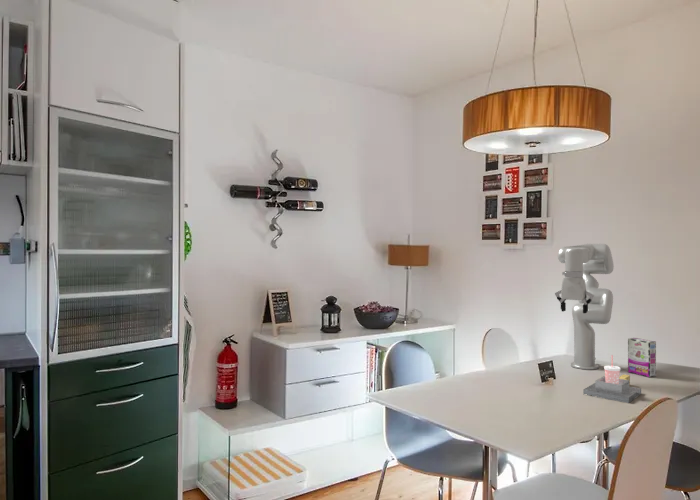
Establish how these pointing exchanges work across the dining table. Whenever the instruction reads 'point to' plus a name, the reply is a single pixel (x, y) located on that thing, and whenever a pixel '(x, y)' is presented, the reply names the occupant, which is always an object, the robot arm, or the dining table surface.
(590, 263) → the robot arm
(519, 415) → the dining table surface
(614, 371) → the beverage cup
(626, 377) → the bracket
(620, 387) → the stacked grey tray
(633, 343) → the candy bar box
